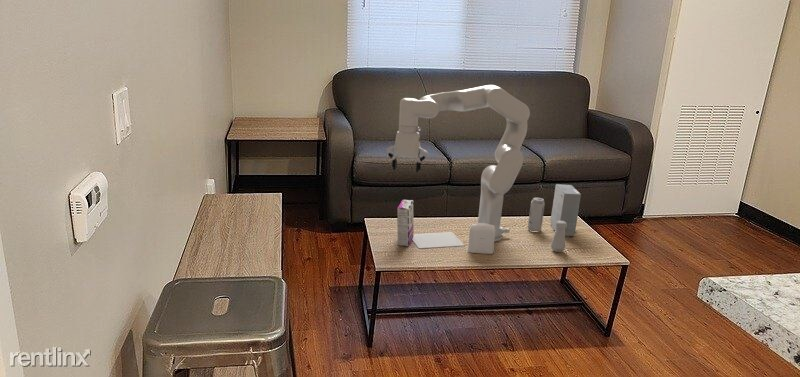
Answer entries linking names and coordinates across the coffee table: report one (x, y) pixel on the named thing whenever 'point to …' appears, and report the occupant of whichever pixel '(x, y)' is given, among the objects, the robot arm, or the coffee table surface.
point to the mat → (436, 240)
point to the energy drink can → (536, 214)
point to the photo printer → (481, 238)
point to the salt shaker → (559, 237)
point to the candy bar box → (405, 222)
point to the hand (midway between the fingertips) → (406, 170)
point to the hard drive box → (565, 207)
